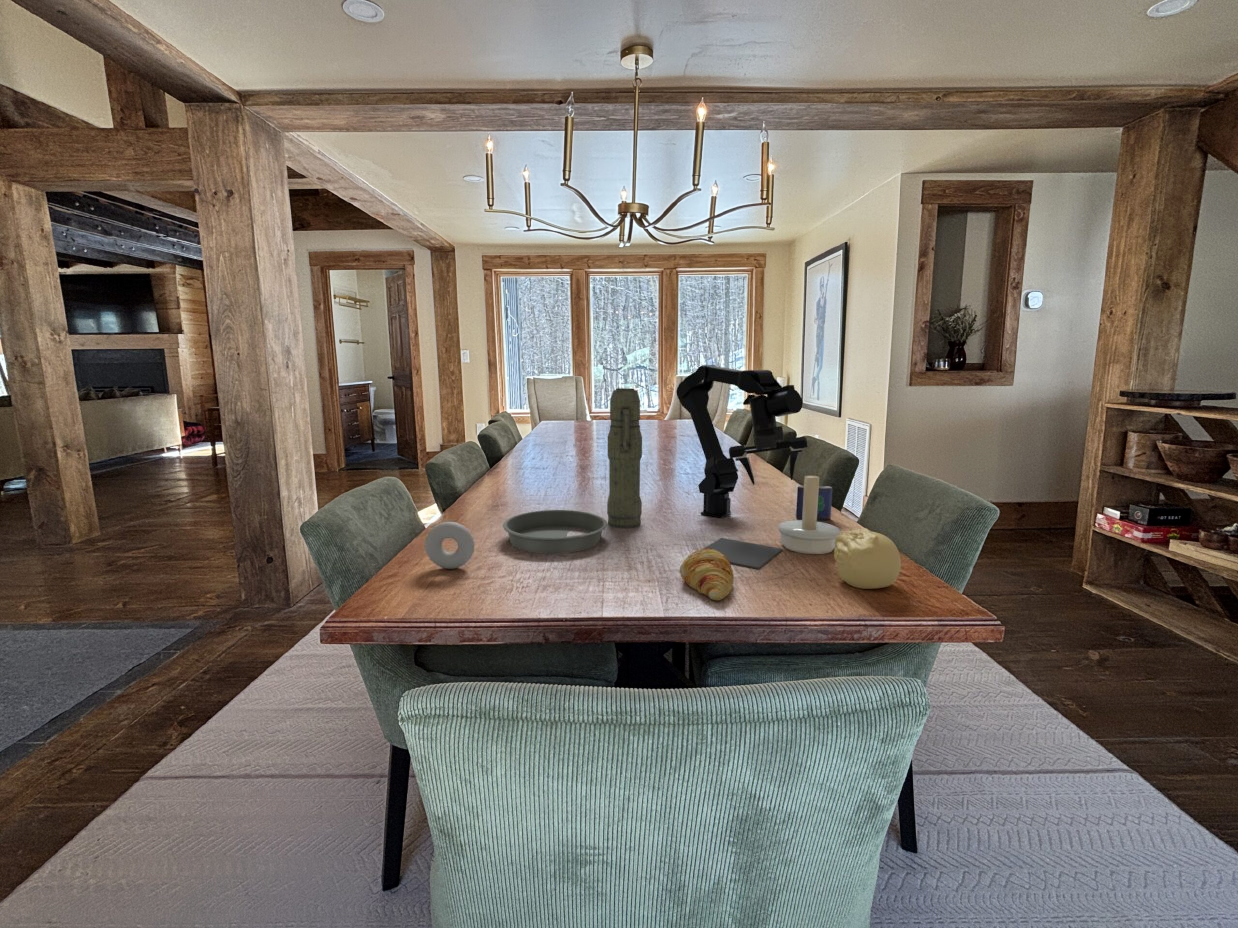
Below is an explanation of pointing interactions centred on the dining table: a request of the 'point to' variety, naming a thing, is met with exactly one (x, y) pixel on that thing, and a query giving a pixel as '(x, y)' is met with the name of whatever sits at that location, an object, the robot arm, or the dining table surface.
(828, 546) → the bowl
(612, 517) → the thermos
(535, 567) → the dining table surface
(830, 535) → the lid
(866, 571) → the sculpture
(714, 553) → the croissant
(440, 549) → the donut
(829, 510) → the flask
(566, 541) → the cake pan
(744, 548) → the mat
